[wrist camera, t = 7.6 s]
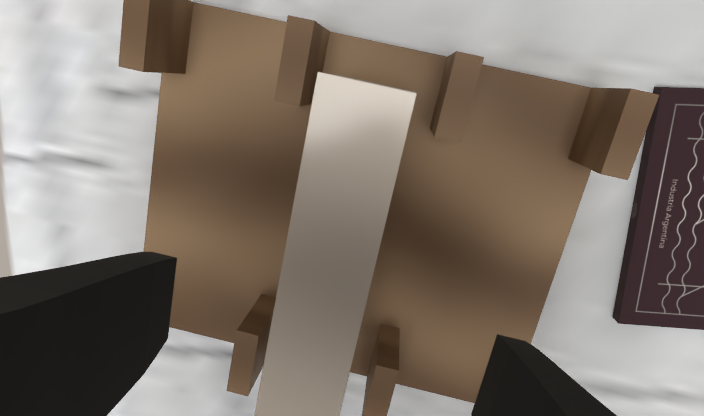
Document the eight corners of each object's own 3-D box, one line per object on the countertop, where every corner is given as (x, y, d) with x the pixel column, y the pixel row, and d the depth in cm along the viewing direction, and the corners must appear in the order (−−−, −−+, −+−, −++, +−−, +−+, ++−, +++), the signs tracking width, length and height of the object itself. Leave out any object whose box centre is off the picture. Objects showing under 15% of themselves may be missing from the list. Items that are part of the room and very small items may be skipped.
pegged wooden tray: (502, 396, 21) (524, 466, 17) (148, 308, 22) (93, 356, 18) (606, 92, 17) (663, 95, 14) (181, 1, 18) (121, -21, 14)
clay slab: (354, 336, 20) (333, 440, 14) (297, 322, 20) (253, 419, 14) (412, 90, 17) (416, 93, 11) (346, 76, 17) (317, 71, 12)
